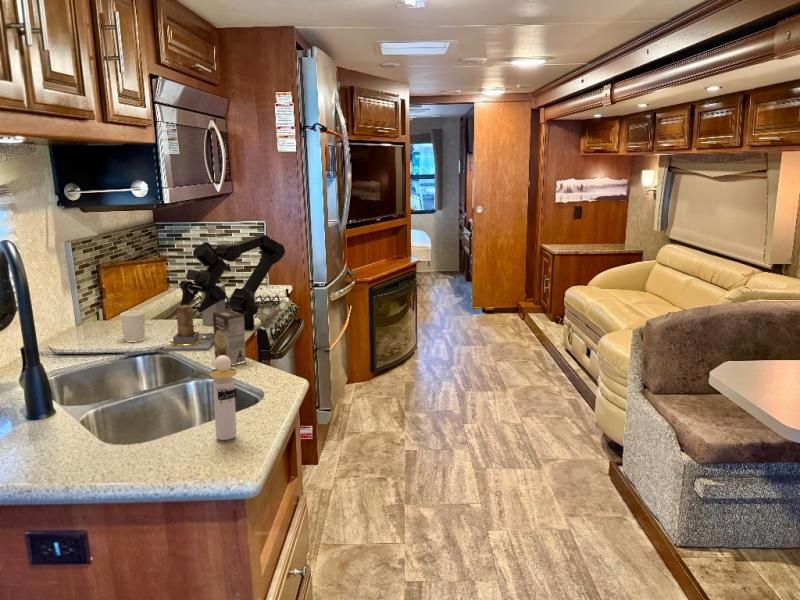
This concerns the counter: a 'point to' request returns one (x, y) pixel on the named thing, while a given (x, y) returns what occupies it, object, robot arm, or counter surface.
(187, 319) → the peg
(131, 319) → the white cup
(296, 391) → the counter surface
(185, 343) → the gears
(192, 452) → the counter surface
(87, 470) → the counter surface
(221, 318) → the coffee box
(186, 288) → the robot arm
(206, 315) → the skincare box
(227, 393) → the perfume bottle
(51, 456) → the counter surface
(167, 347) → the board
